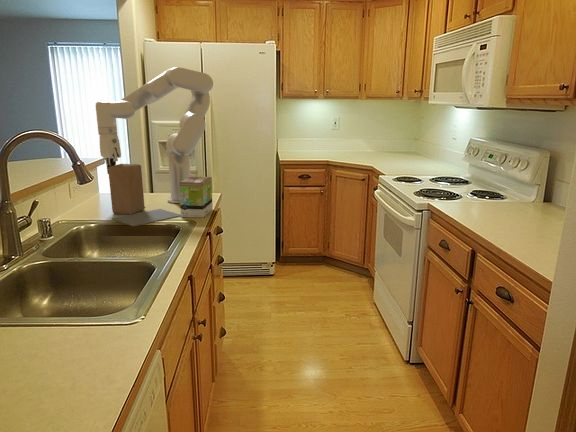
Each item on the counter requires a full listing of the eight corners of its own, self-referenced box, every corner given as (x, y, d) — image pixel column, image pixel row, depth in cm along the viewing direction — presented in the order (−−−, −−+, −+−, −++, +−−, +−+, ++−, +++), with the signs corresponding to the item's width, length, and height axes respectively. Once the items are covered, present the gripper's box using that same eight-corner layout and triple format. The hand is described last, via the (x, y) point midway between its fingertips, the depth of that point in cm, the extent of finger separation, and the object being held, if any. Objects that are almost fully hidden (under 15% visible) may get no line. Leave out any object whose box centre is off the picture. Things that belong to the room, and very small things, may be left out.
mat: (160, 209, 190) (160, 208, 190) (182, 215, 179) (182, 214, 179) (111, 219, 174) (111, 218, 174) (132, 226, 164) (132, 225, 163)
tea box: (204, 218, 176) (203, 181, 173) (180, 217, 177) (178, 181, 173) (213, 209, 191) (211, 176, 187) (190, 209, 191) (188, 175, 188)
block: (133, 215, 181) (129, 167, 176) (111, 214, 183) (106, 166, 178) (145, 209, 190) (141, 164, 185) (124, 208, 192) (120, 163, 187)
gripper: (124, 131, 184) (128, 174, 188) (107, 130, 193) (112, 171, 198) (107, 132, 178) (112, 176, 183) (91, 130, 188) (95, 173, 192)
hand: (112, 173), depth 190 cm, fingers closed
